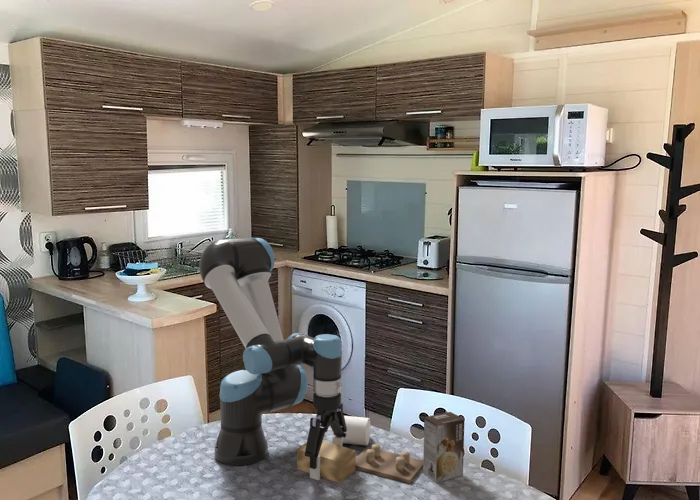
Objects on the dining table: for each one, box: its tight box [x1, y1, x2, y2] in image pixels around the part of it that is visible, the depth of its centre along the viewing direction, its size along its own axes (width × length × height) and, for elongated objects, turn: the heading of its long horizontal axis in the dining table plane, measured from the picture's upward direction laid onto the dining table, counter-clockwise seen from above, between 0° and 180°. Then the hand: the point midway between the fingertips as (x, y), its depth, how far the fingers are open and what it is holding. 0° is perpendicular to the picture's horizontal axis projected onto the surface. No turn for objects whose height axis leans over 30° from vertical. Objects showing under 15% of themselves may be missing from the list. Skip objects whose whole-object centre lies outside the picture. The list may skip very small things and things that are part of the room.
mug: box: [332, 415, 371, 447], centre depth 179 cm, size 12×10×8 cm
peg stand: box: [355, 443, 423, 485], centre depth 163 cm, size 18×12×4 cm, turn 62°
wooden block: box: [296, 440, 357, 484], centre depth 160 cm, size 14×8×6 cm, turn 58°
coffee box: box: [422, 411, 465, 484], centre depth 158 cm, size 9×6×16 cm
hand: (326, 468), depth 161 cm, fingers open, 12 cm apart
